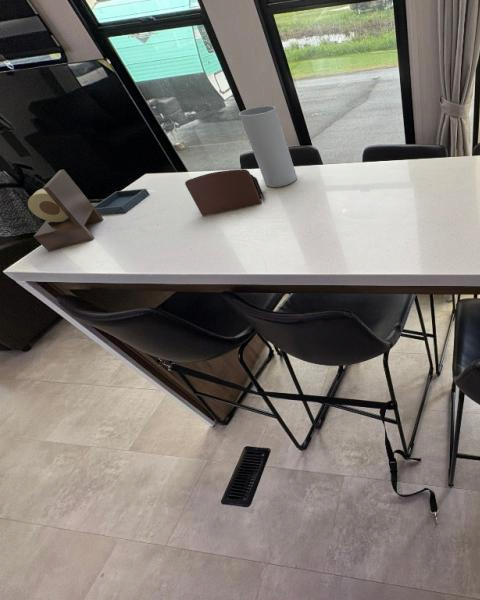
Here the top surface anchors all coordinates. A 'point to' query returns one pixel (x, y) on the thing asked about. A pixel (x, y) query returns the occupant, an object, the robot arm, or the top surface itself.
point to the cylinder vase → (269, 145)
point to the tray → (121, 201)
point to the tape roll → (45, 207)
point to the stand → (74, 208)
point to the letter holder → (224, 191)
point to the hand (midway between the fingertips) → (17, 162)
